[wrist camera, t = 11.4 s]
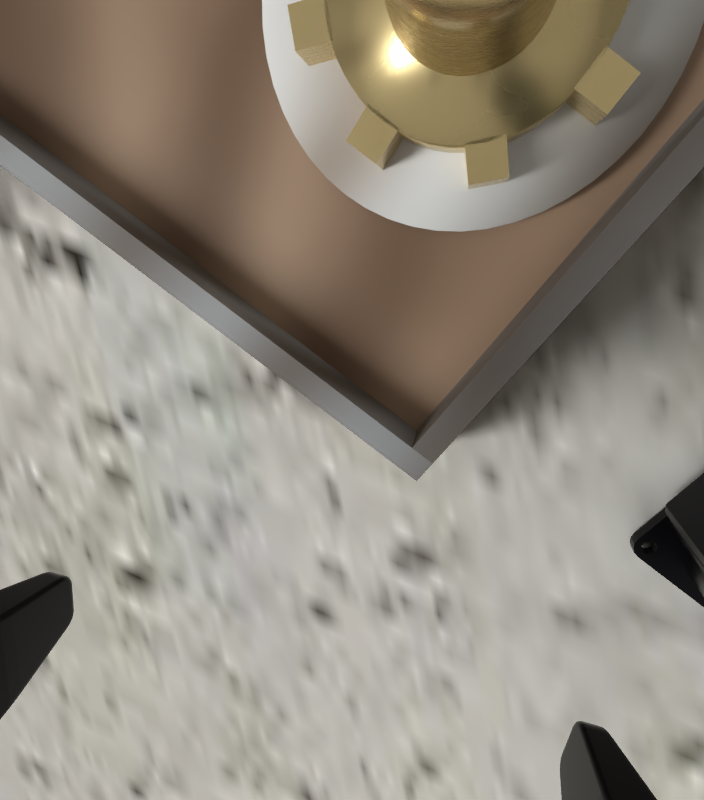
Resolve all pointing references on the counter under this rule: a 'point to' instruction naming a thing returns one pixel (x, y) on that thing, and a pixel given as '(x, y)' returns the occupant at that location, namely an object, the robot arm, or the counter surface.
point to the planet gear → (465, 70)
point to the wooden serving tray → (339, 198)
